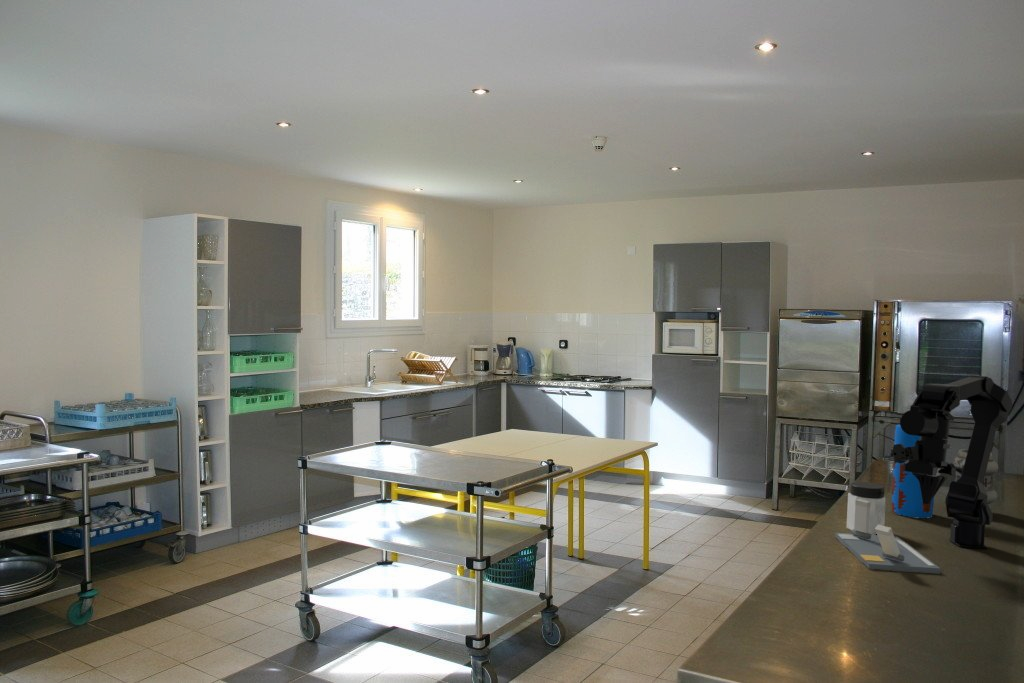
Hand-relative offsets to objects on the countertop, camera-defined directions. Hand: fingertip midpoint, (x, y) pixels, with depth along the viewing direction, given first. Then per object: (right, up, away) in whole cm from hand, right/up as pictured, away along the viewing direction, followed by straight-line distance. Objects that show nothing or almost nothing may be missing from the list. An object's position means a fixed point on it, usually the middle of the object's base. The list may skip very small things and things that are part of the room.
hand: (925, 504), depth 184 cm
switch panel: (-9, -12, +2) cm, 15 cm away
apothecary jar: (+37, -12, +46) cm, 60 cm away
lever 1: (-11, -10, +10) cm, 18 cm away
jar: (-4, -12, +22) cm, 25 cm away
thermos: (+18, -12, +42) cm, 47 cm away
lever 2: (-11, -10, -7) cm, 16 cm away
